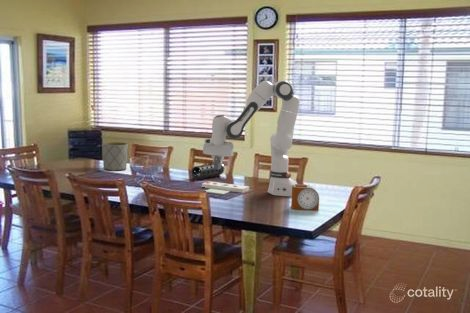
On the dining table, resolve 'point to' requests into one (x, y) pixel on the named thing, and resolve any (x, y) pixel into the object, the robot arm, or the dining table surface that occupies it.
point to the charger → (217, 162)
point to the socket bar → (225, 187)
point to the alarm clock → (304, 197)
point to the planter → (115, 155)
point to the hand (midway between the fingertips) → (217, 162)
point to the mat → (217, 191)
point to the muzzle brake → (206, 171)
